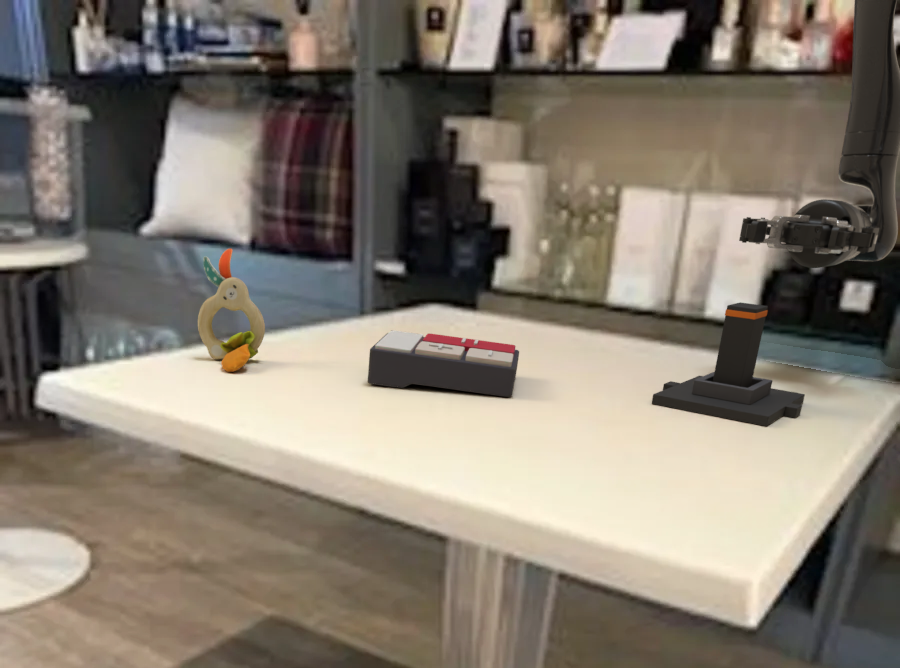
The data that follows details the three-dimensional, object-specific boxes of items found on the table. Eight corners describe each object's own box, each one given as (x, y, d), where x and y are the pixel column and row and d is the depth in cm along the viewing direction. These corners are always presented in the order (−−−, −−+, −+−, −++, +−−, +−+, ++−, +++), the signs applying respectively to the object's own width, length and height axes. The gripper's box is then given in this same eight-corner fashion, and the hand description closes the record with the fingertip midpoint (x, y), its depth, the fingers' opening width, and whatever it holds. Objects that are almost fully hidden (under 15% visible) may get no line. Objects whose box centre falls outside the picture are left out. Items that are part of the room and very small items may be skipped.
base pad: (687, 382, 102) (691, 360, 101) (814, 405, 95) (819, 382, 94) (640, 401, 91) (644, 377, 90) (779, 429, 85) (785, 403, 83)
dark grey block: (722, 388, 95) (739, 302, 91) (750, 393, 94) (768, 306, 90) (709, 394, 92) (726, 305, 88) (738, 399, 91) (757, 309, 87)
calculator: (516, 361, 87) (369, 341, 88) (510, 403, 89) (366, 383, 90) (520, 342, 97) (388, 324, 98) (515, 381, 99) (385, 363, 100)
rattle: (175, 366, 92) (166, 250, 87) (212, 353, 100) (205, 245, 95) (240, 374, 91) (235, 256, 86) (273, 360, 98) (270, 251, 93)
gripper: (774, 196, 108) (734, 192, 96) (898, 204, 101) (871, 201, 89) (761, 261, 112) (720, 265, 99) (880, 272, 105) (852, 279, 92)
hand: (792, 235), depth 94 cm, fingers open, 8 cm apart
